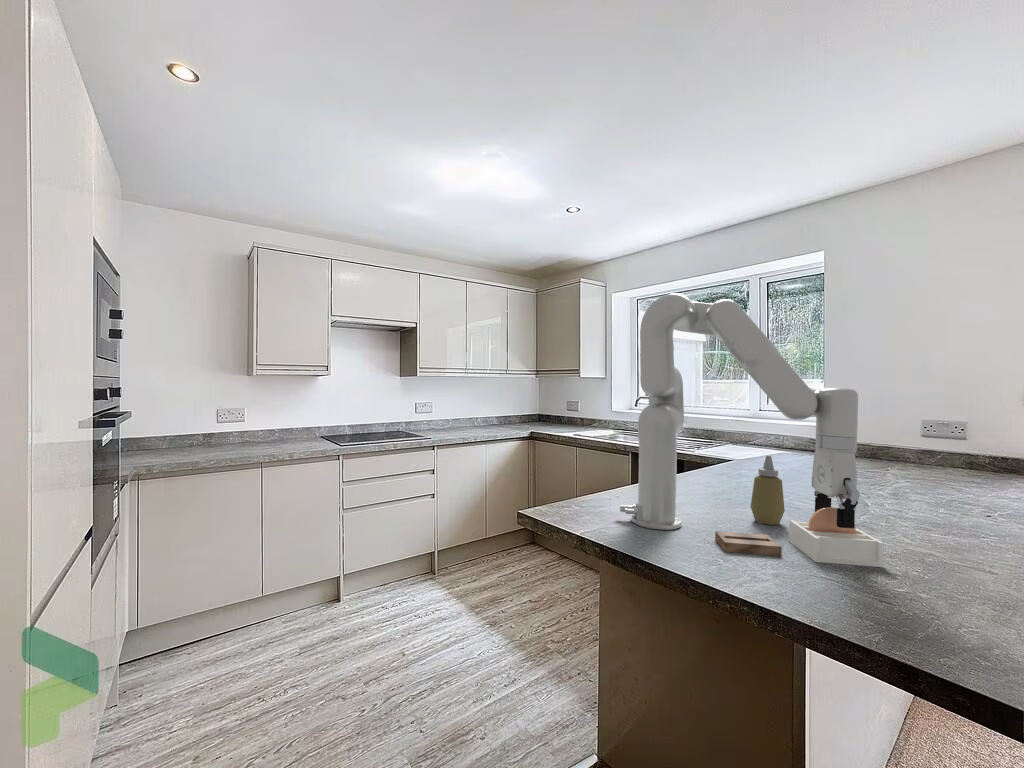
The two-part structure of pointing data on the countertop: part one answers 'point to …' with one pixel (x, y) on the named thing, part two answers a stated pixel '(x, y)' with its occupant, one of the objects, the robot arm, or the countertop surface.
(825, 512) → the peach round disc
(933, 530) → the countertop surface
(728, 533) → the stand
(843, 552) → the rack
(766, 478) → the squeeze bottle
